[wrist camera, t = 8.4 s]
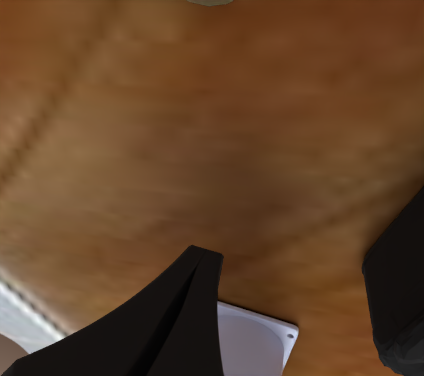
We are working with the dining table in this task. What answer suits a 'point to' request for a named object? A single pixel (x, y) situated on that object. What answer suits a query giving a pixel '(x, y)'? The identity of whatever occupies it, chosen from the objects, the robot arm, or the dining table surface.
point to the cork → (210, 2)
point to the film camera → (399, 291)
